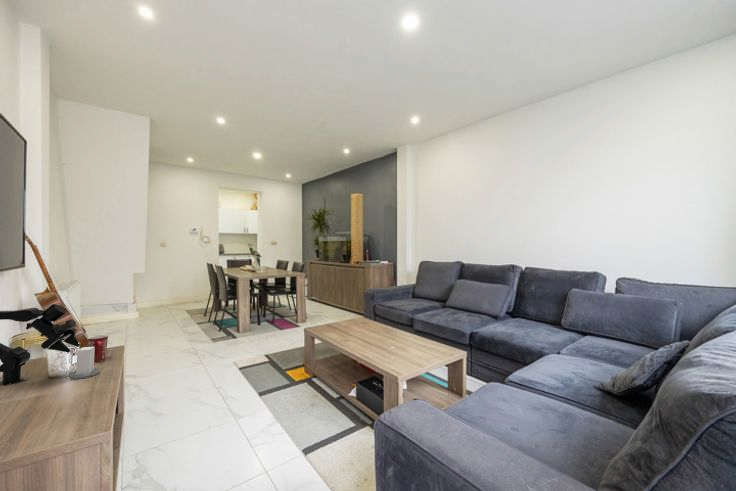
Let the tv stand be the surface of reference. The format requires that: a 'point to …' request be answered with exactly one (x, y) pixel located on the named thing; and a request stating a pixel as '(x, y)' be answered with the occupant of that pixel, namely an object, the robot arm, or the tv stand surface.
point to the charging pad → (82, 376)
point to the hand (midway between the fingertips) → (74, 348)
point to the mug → (98, 346)
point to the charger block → (85, 360)
